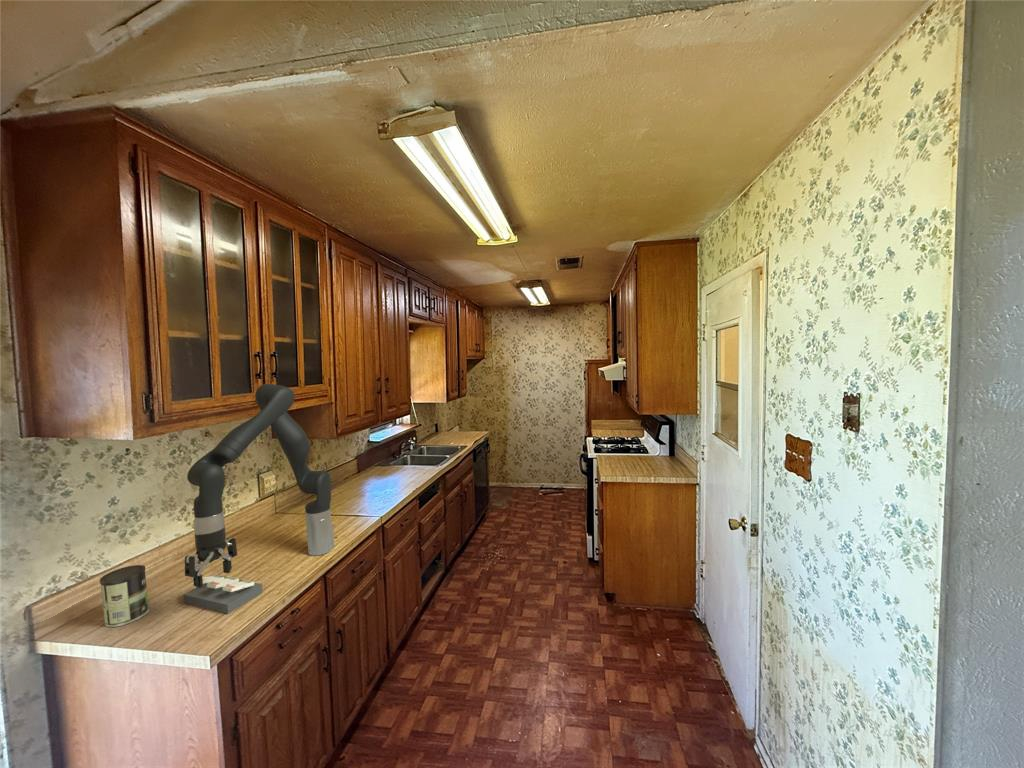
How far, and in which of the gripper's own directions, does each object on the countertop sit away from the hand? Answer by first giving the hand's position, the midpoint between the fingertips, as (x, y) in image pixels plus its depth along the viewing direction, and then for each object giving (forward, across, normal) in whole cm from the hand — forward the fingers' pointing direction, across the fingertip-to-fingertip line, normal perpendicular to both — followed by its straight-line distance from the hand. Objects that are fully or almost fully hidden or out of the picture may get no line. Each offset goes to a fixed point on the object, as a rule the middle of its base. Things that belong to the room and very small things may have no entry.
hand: (213, 579), depth 126 cm
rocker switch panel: (+12, -8, -7) cm, 16 cm away
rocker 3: (+7, -8, 0) cm, 10 cm away
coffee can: (+12, +8, -27) cm, 31 cm away
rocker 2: (+7, -8, -7) cm, 13 cm away
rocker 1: (+7, -8, -14) cm, 18 cm away
